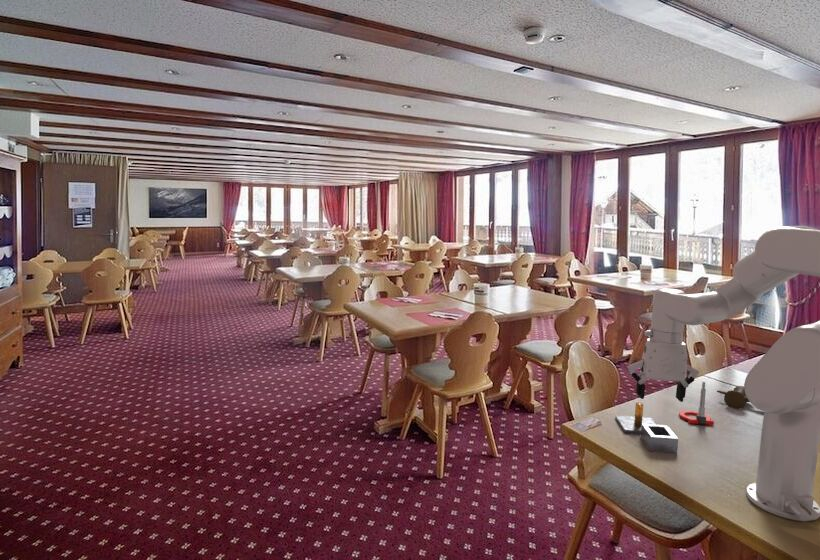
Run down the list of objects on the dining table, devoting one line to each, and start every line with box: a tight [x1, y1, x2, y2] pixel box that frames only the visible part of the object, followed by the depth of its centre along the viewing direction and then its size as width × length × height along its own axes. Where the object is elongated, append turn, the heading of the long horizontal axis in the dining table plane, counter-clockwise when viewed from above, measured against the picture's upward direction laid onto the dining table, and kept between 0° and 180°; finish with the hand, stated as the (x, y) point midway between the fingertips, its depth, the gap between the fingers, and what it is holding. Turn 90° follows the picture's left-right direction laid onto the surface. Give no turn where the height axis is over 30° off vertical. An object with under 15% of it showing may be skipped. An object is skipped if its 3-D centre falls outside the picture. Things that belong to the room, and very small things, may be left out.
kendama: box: [716, 385, 750, 410], centre depth 154 cm, size 6×10×20 cm
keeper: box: [615, 402, 657, 435], centre depth 140 cm, size 10×10×7 cm
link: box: [640, 424, 679, 454], centre depth 129 cm, size 8×7×4 cm
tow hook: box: [678, 381, 715, 426], centre depth 145 cm, size 8×13×9 cm
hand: (659, 398), depth 128 cm, fingers open, 9 cm apart
